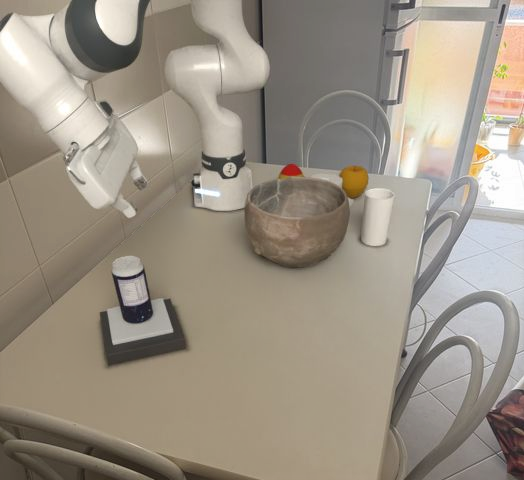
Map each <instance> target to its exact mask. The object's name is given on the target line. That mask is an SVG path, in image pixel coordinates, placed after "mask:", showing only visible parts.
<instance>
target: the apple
mask: <svg viewBox="0 0 524 480" xmlns="http://www.w3.org/2000/svg"><path fill="white" fill-rule="evenodd" d="M368 173H369V172H368V171H367V169H366V168H365V167H363V166H361V165H347V166H346V167H343V169H342V170H340V172H339V175H338V176H339V177H341V178H342V189H343V190H344V191H345V193H346V195H347V197H348V198H350V199H357V198H359V197H361V195H363V193H365V191H366V189H367V186H368V184H369V179H370V178H369V174H368Z"/></svg>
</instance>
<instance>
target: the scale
mask: <svg viewBox="0 0 524 480" xmlns="http://www.w3.org/2000/svg"><path fill="white" fill-rule="evenodd" d="M151 304H152V309H153V315H152V317H151V318H150V319H149V320H148V321H147V322H146V323H144V324H141V325H133V324H130V323H128V322H126V321H125V320H124V319H123V317H122V313H121V309H120V305H119V306H115V307H109V308H106V310H104V311H100V312H99V318H100V325H101V333H102V339H103V345H104V353H105V359H106V362H107V365H108V366H109V367H110V366H115V365H118V364H124V363H127V362H132V361H136V360H141V359H146V358H150V357H156V356H159V355H164V354H168V353H172V352H173V353H174V352H177V351H182V350H186V347H187V346H186V341H185V336H184V334H183V332H182V331H183V330H182V328H181V326H180V322H179V320H178V316H177V314H176V311H175V308H174V305H173V302H172V299H171V298H166V299H164V298H163V297H161V298H155V299H151Z"/></svg>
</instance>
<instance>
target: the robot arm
mask: <svg viewBox="0 0 524 480" xmlns="http://www.w3.org/2000/svg"><path fill="white" fill-rule="evenodd" d="M150 2H151V0H70V1H69V2H68V3H67V4H66V5H65V6H63V8H61V10H59V11H58V12H57V13H56V12H53V13H50V14H49V13H48V14H44V15H24V14H19V13H16V12H10V13H7V14H6V15H4V16H3V17H2V18H1V20H0V83H1V85H2V86H3V88H4V89H5V90H6V91H7V93H9V94H10V96H11V97H12V98H13V99H14V100H15V101H16V103H17V104H18V105H19V106H20V107H21V108H22V109H23V110H24V111H26V112H27V113H29V114H30V115H31V116H33V118H34V119H35V120H36V122H37V123H38V125H39V126H40V128H41V130H42V131H43V133H44V134H45V135H46V136H47V137H48V138H49V139H50V141H52V143H53V144H54V145H55V147H57V148H58V149H59V151H61V153H62V154H63V156H62V157H63V158H62V159H63V162H64V166H65V170H66V171H67V175H68V178H69V180H70V182H71V183H72V184H73V186H74V187H75V188H76V189H77V191H78V192H79V193H80V195H81V196H82V197H83V198H84V199H85V201H86V202H87V203H88V204H89V206H90V207H92V208H93V209H94V210H96V211H99V212H101V211H103V210H105V209H107V208H109V207H110V206H111V207H112V208H114V209H116V210H118V211H120V212H121V213H123V214H124V216H125V217H126V218H128V219H131V218H133V217H135V216H136V214H137V212H138V208H137V206H135V204H134V203H133V201H129V202H128V201H127V200H126V199H124V195H123V194H122V193H121V189H122V187H123V185H124V183H125V180H126V178H127V176H128V174H129V175H130V176H131V178H132V180H133V185H134V186H135V187H136V188H137V190H139V191H142V190H144V189H146V188H147V186H148V182H149V181H148V179H147V178H146V177H145V175H144V174H143V171H142V170H141V167H140V165H139V162H138V161H137V160H136V159H135V158H136V156H137V154H138V151H139V146H138V143H137V141H136V139H135V138H134V136H133V135H132V133H131V132H130V131H129V129H128V128H127V126H126V125H125V123H124V122H123V121H122V120H121V119H120V118H119V117H118V116H117V114H114V113H115V109H114V106H113V105H112V103H110V101H109V100H107V99H102V100H101V99H100V100H92V98H91V97H90V96H89V94H88V93H87V92H86V90H85V87H86V86H87V85H90V84H92V83H94V82H97V81H98V80H100V79H103V78H104V77H106V76H108V75H110V74H111V73H114V72H117V71H120V70H123V69H126V68H128V67H129V66H131V65H132V64H133V63H135V61H136V60H137V58H138V56H139V54H140V52H141V49H142V45H143V36H144V23H145V17H146V12H147V8H148V6H149V3H150ZM190 4H191V5H190V7H191V8H190V9H191V16H192V18H193V21H194V22H195V24H196V25H197V27H198V28H200V30H202V31H203V32H205V33H207V34H208V35H211V36H212V37H215V38H216V39H217V40H218V43H215V44H198V45H197V44H196V45H195V44H194V45H186V46H183V47H179V48H177V49H173V50H171V51H170V52H169V53H168V55H167V57H166V60H165V63H164V77H165V81H166V83H167V85H168V87H169V88H170V90H171V91H172V93H174V94H175V95H176V96H178V97H179V98H181V100H183V101H184V102H185V103H186V104H187V105H188V106H189V107H190V109H191V110H192V112H193V113H194V116H195V118H196V120H197V123H198V128H199V133H200V139H201V146H202V151H201V156H200V160H201V166H200V168H199V170H198V172H195V173H192V175H193V179H192V180H191V182H190V183H191V186H192V187H193V188H192V189H193V191H192V192H193V204H194V207H196V208H204V209H207V210H212V211H216V212H217V211H218V212H229V211H231V212H232V211H236V210H240V209H244V208H245V202H246V199H247V194H248V193H249V192H250V191H251V190H252V189H253V179H252V171H251V169H250V168H249V167H248V166H247V165H246V164H247V157H246V156H247V155H246V150H245V149H244V131H243V129H244V128H243V122H242V119H241V117H240V116H239V115H238V114H237V113H236V112H234V111H232V110H231V109H229V108H226V107H224V106H222V105H220V104H219V103H218V98H219V97H221V96H231V95H245V94H249V93H253V92H256V91H258V90H262V89H263V88H264V87H265V85H266V84H267V82H268V79H269V76H270V71H271V70H270V69H271V68H270V66H271V65H270V59H269V56H268V54H267V53H266V50H264V48H263V47H262V46H261V45H260V44H258V43H257V42H256V41H255V40H254V39H253V38H252V36H251V35H250V33H249V32H248V30H247V27H246V25H245V21H244V15H243V2H242V0H190Z"/></svg>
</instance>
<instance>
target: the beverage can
mask: <svg viewBox="0 0 524 480" xmlns="http://www.w3.org/2000/svg"><path fill="white" fill-rule="evenodd" d="M111 266H112V267H111V271H110V273H111V275H112V281H113V285H114V289H115V292H116V293H115V294H116V296H117V300H118V304H119V306H120V309H121V313H122V317H123V319H124V320H125V321H126V322H128V323H130V324H133V325H141V324H144V323H146V322H147V321H148V320H149V319H150V318H151V317H152V315H153V309H152V304H151V300H152V299H151V293H150V290H149V283H148V280H147V279H148V278H147V275H146V270H145V269H146V268H145V265H144V264H143V263H142V260H141V259H140V258H139V257H137V256H135V255H125V256H121V257H117V258H116V259H115V260H114V261H113V262H112V263H111Z"/></svg>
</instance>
